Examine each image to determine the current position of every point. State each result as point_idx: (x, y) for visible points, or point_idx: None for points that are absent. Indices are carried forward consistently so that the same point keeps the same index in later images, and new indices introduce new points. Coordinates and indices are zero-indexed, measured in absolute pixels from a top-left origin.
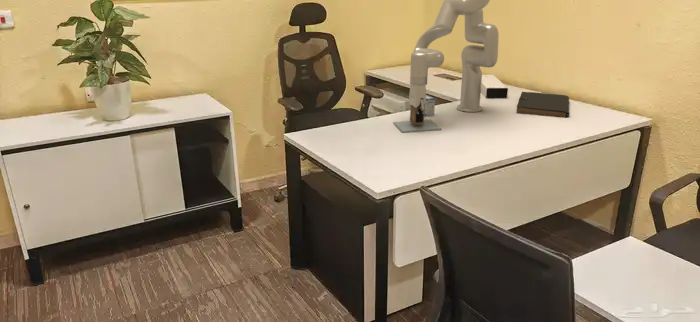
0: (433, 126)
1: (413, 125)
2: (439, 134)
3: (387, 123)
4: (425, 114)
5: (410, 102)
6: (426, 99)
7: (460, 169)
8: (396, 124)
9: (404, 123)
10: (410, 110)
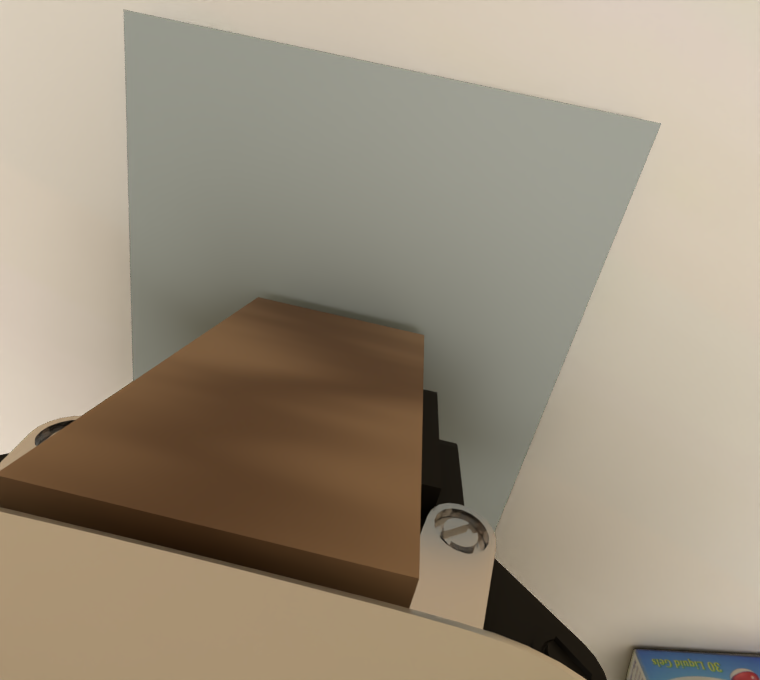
0: None
1: None
2: (19, 425)
3: (733, 26)
4: (668, 664)
5: (353, 677)
6: None
7: None
8: (500, 103)
9: (481, 262)
10: (411, 441)
